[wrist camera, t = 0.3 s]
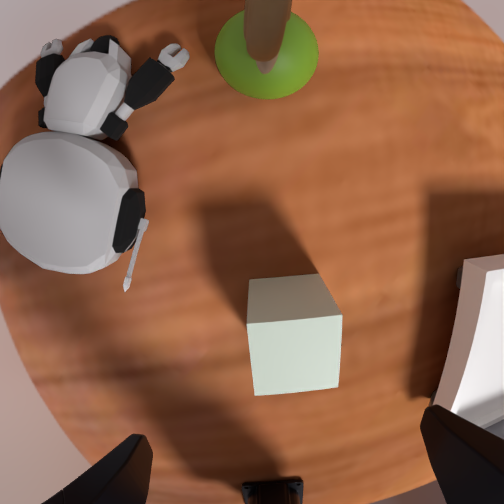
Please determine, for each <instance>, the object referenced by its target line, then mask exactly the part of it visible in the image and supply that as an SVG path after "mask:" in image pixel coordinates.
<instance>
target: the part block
mask: <svg viewBox="0 0 504 504" xmlns="http://www.w3.org/2000/svg"><path fill="white" fill-rule="evenodd" d="M247 331H248V340H249V349H250V358H251V367H252V375H253V384H254V392H255V396H257V395H271V394H283V393H294V392H303V391H312V390H320V389H327V388H335V387H338V382H339V369H340V353H341V335H342V313H341V311H340V310H339V308H338V306H337V304H336V303H335V301H334V299H333V297H332V295H331V294H330V292H329V290H328V288H327V287H326V285H325V283H324V281H323V280H322V278H321V276H320V275H319V274H308V275H297V276H285V277H274V278H262V279H249V291H248V309H247Z"/></svg>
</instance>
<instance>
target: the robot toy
mask: <svg viewBox="0 0 504 504" xmlns="http://www.w3.org/2000/svg"><path fill="white" fill-rule="evenodd" d="M181 49H182V48H181V47H180V45H178V44H170V45H168V46H167V47H165V48H164V49H162V51H161V53H160V56H159V58H158V61H157V62H156V61H155V60H153V59H152V58H149V59H148V60H147V61H146V62H145V63H144V64H143V65H142V66H141V67H140V69H139V70H138V71H137V72H136V73H135V74H134V75H133V76H132V75H131V58H130V57H129V56H128V55H127V54H126V53H125V52H124V51H123V49H122V48H121V47H120V45H119V41H118V40H117V38H115V37H113V36H111V35H105V36H101V37H99V38H98V39H97V40H96V41H95V42H94V41H93V40H92V39H89V40H86V41H84V42H82V43H80V44H78V46H77V47H76V48H75V50H74V51H73V52H72V54H71V55H70V56H69V58H68V59H67V60H65V59H64V58H63V56H62V55H60V54H61V52H62V50H63V46H62V41H61V40H59V39H55V40H53V41H52V44H51V43H50V42H49V43H47V44H45V45H44V46H43V48H42V51H41V57H42V58H41V59H40V60H38V61H37V63H36V79H35V83H36V85H37V87H38V89H39V91H40V92H41V94H42V95H43V97H44V108H42V109H41V110H40V111H39V112H38V115H39V126H40V127H42V128H48V129H49V130H53V131H54V132H41V133H37V134H33V135H30V136H27V137H25V138H23V139H22V140H21V141H19V142H18V143H17V144H15V145H14V146H13V148H12V149H11V151H10V152H9V153H8V155H7V156H6V158H5V159H4V162H3V164H2V166H1V170H0V229H1V231H2V232H3V234H4V236H5V238H6V239H7V241H8V242H9V243H10V244H11V245H12V246H13V247H14V248H15V249H16V250H17V251H18V252H19V253H20V254H22V255H23V256H25V257H26V258H28V259H29V260H31V261H32V262H34V263H35V264H37V265H38V266H40V267H42V268H43V269H48V270H53V271H58V272H63V273H68V274H87V273H92V272H95V271H97V270H99V269H102V268H104V267H106V266H108V265H110V264H111V263H113V262H115V261H117V260H118V258H119V257H120V255H121V254H122V253H124V252H126V251H128V250H130V249H131V248H132V247H133V246H134V244H135V246H134V250H133V254H132V257H131V261H130V265H129V268H128V272H127V276H126V277H125V280H124V284H123V287H124V291H125V292H126V290H127V289H128V288H129V287H130V283H131V279H132V278H131V275H132V271H133V268H134V264H135V260H136V257H137V253H138V249H139V246H140V242H141V239H142V236H143V232H144V231H146V230H147V226H148V223H149V221H148V220H147V219H144V217H145V212H146V208H145V196H144V192H143V191H142V190H140V189H139V188H138V180H137V171H136V169H135V168H134V167H133V165H132V164H131V163H130V161H129V160H128V159H127V158H126V157H125V156H124V155H123V154H121V153H120V152H118V151H117V150H115V149H113V148H112V147H110V146H108V145H106V144H104V143H101V142H99V141H96V140H94V139H97V140H103V139H105V138H106V137H110V138H112V139H114V140H118V139H119V138H120V137H121V136H122V134H123V133H124V132H125V130H126V129H127V128H128V124H127V122H126V119H127V118H128V117H129V116H130V115H131V113H132V112H133V111H134V110H136V109H138V108H140V107H143V106H145V105H147V104H149V103H151V102H154V101H156V99H157V98H158V97H159V96H160V95H161V94H162V93H163V92H164V91H165V89H166V88H167V87H168V86H169V85H170V84H171V83H172V82H173V81H174V80H175V79H174V76H173V75H172V74H171V73H170V72H173V71H175V70H178V69H180V68H182V67H184V65H185V64H186V62H187V61H188V59H189V58H190V56H189V52H188V51H187V50H186V49H184V48H183V49H182V50H181ZM180 50H181V51H180ZM178 51H180V52H179V53H178V54H177V52H178ZM176 54H177V55H176ZM175 55H176V56H175ZM174 56H175V57H174ZM173 57H174V58H173Z"/></svg>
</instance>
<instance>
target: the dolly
mask: <svg viewBox="0 0 504 504" xmlns="http://www.w3.org/2000/svg"><path fill="white" fill-rule="evenodd" d="M456 286H457V287H458V288H459V289H460V294H459V301H458V307H457V312H456V318H455V323H454V328H453V333H452V337H451V342H450V346H449V350H448V354H447V358H446V362H445V366H444V370H443V373H442V377H441V380H440V384H439V387H438V389H437V390H435V391H434V392H433V393H432V396H431V399H430V402H429V406H432V405H435V404H438V405H440V406H442V407H444V408H446V409H447V410H449V411H451V412H453V413H455V414H457V415H459V416H460V417H462V418H464V419H466V420H468V421H470V422H472V423H474V424H475V425H477V426H479V427H481V428H483V429H485V430H487V431H489V432H491V433H493V434H495V435H497V436H499V437H501V438H502V439H504V254H500V255H493V256H486V257H479V258H472V259H464V264H463V266H461V267H459V268H458V274H457V282H456Z"/></svg>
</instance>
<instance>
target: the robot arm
mask: <svg viewBox="0 0 504 504" xmlns="http://www.w3.org/2000/svg"><path fill="white" fill-rule="evenodd" d="M420 430H421V433H422V436H423V440H424V443H425V446H426V450H427V453H428V457H429V460H430V463H431V466H432V469H433V471H434V473H435V476H436V478H437V481H438V483H439V485H440V488H441V490H442V493H443V495H444V498H445V500H446V503H447V504H504V439H502V438H501V437H499V436H497V435H495V434H493V433H491V432H489V431H487V430H485V429H483V428H481V427H479V426H477V425H475V424H474V423H472V422H470V421H468V420H466V419H464V418H462V417H460V416H459V415H457V414H455V413H453V412H451V411H449V410H447V409H446V408H444V407H442V406H440V405H438V404H435V405H432V406H429V407H427V408H426V409H425V411H424V414H423V417H422V420H421V424H420ZM152 459H153V452H152V449H151V447H150V444H149V442H148V440H147V438H146V436H145V435H143V434H131V435H130V436H129V437H128V438H126V439H125V440H124V441H123V442H122V443H120V444H119V445H118V446H117V447H116V448H114V449H113V450H112V451H111V452H109V453H108V454H107V455H106V456H104V457H103V458H102V459H101V460H99V461H98V462H97V463H96V464H94V465H93V466H92V467H91V468H89V469H88V470H87V471H85V472H84V473H83V474H82V475H81V476H79V477H78V478H77V479H75V480H74V481H73V482H71V483H70V484H69V485H67V486H66V487H65V488H63V490H60V491H59V492H58V493H56V494H55V495H54V496H52V497H51V498H49V499H48V500H46V501H45V502H43V503H42V504H145V503H146V499H147V495H148V490H149V482H150V474H151V466H152ZM242 492H243V496H244V499H245V503H246V504H302V500H303V480H289V481H277V482H259V483H243V484H242Z"/></svg>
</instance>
